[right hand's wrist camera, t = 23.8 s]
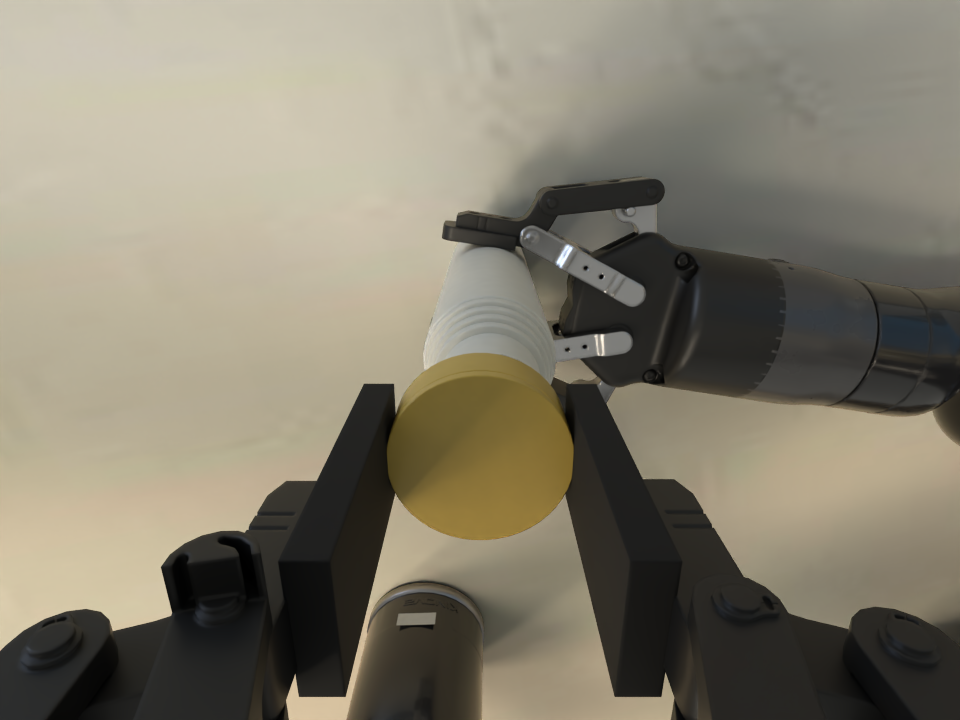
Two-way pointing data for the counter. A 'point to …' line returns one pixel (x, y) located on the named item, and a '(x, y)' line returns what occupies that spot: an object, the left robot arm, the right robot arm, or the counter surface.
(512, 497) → the cap
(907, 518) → the counter surface
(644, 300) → the left robot arm
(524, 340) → the bottle
